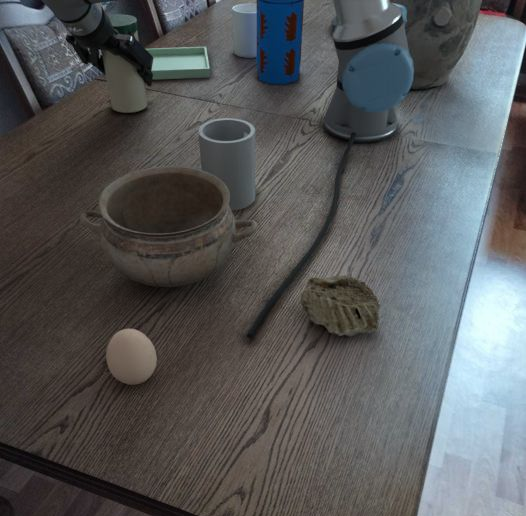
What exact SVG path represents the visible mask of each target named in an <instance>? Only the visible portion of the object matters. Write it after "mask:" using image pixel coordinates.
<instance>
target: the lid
mask: <svg viewBox="0 0 526 516" xmlns="http://www.w3.org/2000/svg"><path fill="white" fill-rule="evenodd" d="M107 15H108V16H109V18H110V21H111V24H112V27H113V28H114V29H115V30H117V31H118V32H119V34H122V35H126V34H127V32H128V31H130V32H132V33H135V32H136V31H137V32H138V30H139V25H138V20H137V18H136V17H135V16H134V15H130V14H123V13H115V14H107Z"/></svg>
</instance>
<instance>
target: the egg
mask: <svg viewBox="0 0 526 516" xmlns="http://www.w3.org/2000/svg"><path fill="white" fill-rule="evenodd" d="M105 358H106V365H107V368H108V370H109V372H110V374H111V375H112V376H113V377H114V378H115V379H116V380H117V381H119V382H120V383H122V384H126V385H128V386H129V385H131V386H134V385H139V384H140V385H141V384H142V383H144V382H146V381H147V380H148V379H149V378H151V376H152V375H153V373H154V372H155V370H156V368H157V363H158V362H157V361H158V357H157V352H156V349H155V346H154V344H153V342H152V341H151V340H150V338H149V337H148V336H147V335H146V334H145V333H143V332H142V331H140V330H138V329H135V328H123V329H121V330H119V331H117V332H116V333H114V335H113V336H112V337H111V339H110V340H109V342H108V344H107V347H106V353H105Z"/></svg>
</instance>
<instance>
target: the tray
mask: <svg viewBox="0 0 526 516" xmlns="http://www.w3.org/2000/svg"><path fill="white" fill-rule="evenodd" d="M145 49H146V50H147V51H148V52H149V53H150V54H151V55H152V56H153V64H152V70H151V72H152V73H153V78H152V81H153V80H155V81H157V80H177V79H178V80H179V79H205V78H211V67H210V61H209V55H208V50H207V46H187V47H183V46H182V47H160V48H159V47H155V48H153V47H152V48H145Z"/></svg>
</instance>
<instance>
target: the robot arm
mask: <svg viewBox="0 0 526 516" xmlns="http://www.w3.org/2000/svg"><path fill="white" fill-rule="evenodd" d="M116 1H119V0H41V2H42V3H43V4H44V5H45V6H46V7H47V8H48V9H49V10H50V11H51V13H53V15H54V16H55V17H56V18H57V20H58V21H60V23H61V24H62V26H63V27H65V29H66V35H65V41H66V42H67V43H68V44H69V45H70V46H71V47H72V48H73V50H74V52H75V53H76V54H77V56H78V58H79V60H80V61H81V64H83V65H89V64H91V66H93V67H95V68H96V69H97V70H98V71H99V72H101V73H102V74H103V75H104V76H105V77H106V75H105V69H104V64H103V59H102V54H100V53H101V50H107V51H109V52H110V53H112V54H113V55H115V56H118V55H119V56H120V57H122V58H123V59H125V60H126V61H127V62H129V63H130V64H132V65H133V66H135V67H136V68H137V72H138V73H139V75H140V76H141V77H142V79H143V80H144V82H145V85H146V86H147V87H152V86H153V85H152V84H153V80H152V78H153V73H152V72H151V70H152V64H153V56H152V55H151V54H150V53H149V52H148V51H147V50H146V49H147V48H145V47H144V45H143V44H141V42H140V41H139V42H138V41H137V40H136V39H135V36H134V34H133V33H132V32H130V31H128V32H127V34H126V35H122V34H119V32H118V31H117V30H115V29H114V28H113V27H112V24H111V21H110V18H109V16H108V15H109V14H108V13H107V12H106V10H105V9H104V8H103V5H101V4H102V3H111V2H116ZM332 3H333V7H334V11H335V15H336V16H337V19H338V24H337V26H336V28H335V30H334V32H333V35H332V34H331V35H332V41H333V44H334V48H335V52H336V55H337V56H336V57H337V61H338V63H337V75H336V84H335V90H334V92H333V94H332V97H331V99H330V102H329V104H328V106H327V109H326V111H325V114H324V119H323V127H324V129H325V131H326V132H327V133H328V134H330V135H331V136H333V137H334V138H337V139H339V140H342V141H346V142H348V143H347V145H346V147H345V150H344V153H343V155H342V158H341V160H340V163H339V165H338V167H337V170H336V173H335V177H334V189H333V195H332V201H331V205H330V208H329V212H328V214H327V217H326V220H325V221H324V224H323V226H322V228H321V230H320V232H319V233H318V235H317V237H316V238H315V239H314V241H313V243H312V244H311V246H310V247H309V249H308V250H307V251H306V252H305V254H304V255H303V257H302V258H301V259H300V261H299V262H298V263H297V264H296V265H295V267H294V268H293V269H292V271H291V272H290V273H289V275H287V277H286V278H285V279H284V281H283V282H282V283H281V284H280V286H279V287H278V288H277V289H276V290H275V292H274V293H273V294H272V295H271V297H270V298H269V300H268V301H267V303H266V304H265V306H264V307H263V308H262V310H261V311H260V313H259V315H258V316H257V318H256V319H255V321H254V322H253V324H252V325H251V327H250V329H249V330H248V332H247V333H246V337H247V339H253V338H254V336H255V335H256V333H257V331H258V330H259V329H260V326H261V325H262V323H263V322H264V320H265V318H266V317H267V316H268V314H269V312H270V311H271V310H272V308H273V306H274V305H275V303H276V302H277V301H278V300H279V298H280V297H281V296H282V294H283V293H284V292H285V290H286V289H287V288H288V287H289V285H290V284H291V283H292V281H294V279H295V278H296V276H297V275H298V274H299V273H300V271H301V270H302V269H303V267H304V266H305V265H306V263H307V262H308V261H309V260H310V258H312V256H313V254H314V253H315V251H316V250H317V248H318V247H319V245H320V244H321V242H322V240H323V239H324V237H325V236H326V234H327V231H328V230H329V228H330V226H331V223H332V221H333V218H334V216H335V213H336V210H337V205H338V201H339V195H340V182H341V176H342V173H343V170H344V168H345V165H346V163H347V160H348V157H349V154H350V152H351V149H352V146H353V144H354V143H362V144H363V143H365V144H366V143H368V144H369V143H378V142H382V141H386V140H388V139H390V138H391V137H393V136H394V134H395V133H396V131H397V126H398V116H397V115H398V114H397V107H396V106H397V105H398V104H399V103H401V102H402V101H403V100H404V98H405V97H406V96H407V95H408V93H409V91H410V90H411V89H410V87H411V85H412V81H413V74H414V63H413V60H412V58H411V57H410V54H409V49H408V44H407V38H406V33H405V24H406V23H407V20H406V17H407V10H406V8H405V7H404V6H402V5H400V4H395V3H391V2H390V0H332Z"/></svg>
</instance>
